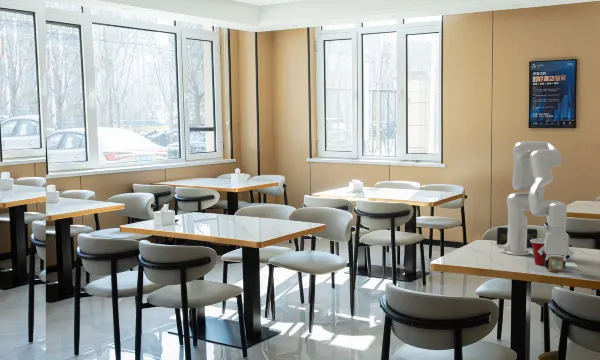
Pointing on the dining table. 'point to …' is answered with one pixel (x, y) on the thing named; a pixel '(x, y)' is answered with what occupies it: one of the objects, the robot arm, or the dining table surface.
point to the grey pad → (570, 275)
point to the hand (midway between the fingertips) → (554, 268)
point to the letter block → (555, 264)
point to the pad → (570, 264)
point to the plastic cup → (536, 246)
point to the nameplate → (503, 236)
